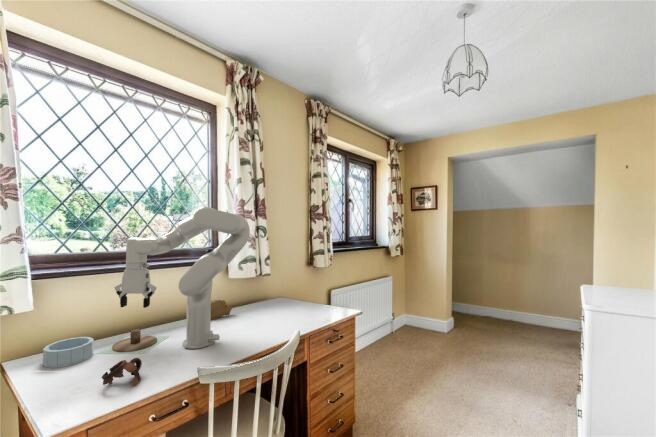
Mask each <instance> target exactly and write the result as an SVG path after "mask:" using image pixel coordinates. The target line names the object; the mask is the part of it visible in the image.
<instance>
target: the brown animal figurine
mask: <svg viewBox="0 0 656 437" xmlns="http://www.w3.org/2000/svg"><path fill="white" fill-rule="evenodd" d="M142 362H143V361H142V360H141V358H139V357H134V358H132V359H131V360H129V362H128V361H127V360H126V359H123V360H121V361H119V362H117V363H115V364H114V365H113V366H112V367H110V368H108V369H109V372H108V371H106V372H105V373H103V374H102V375H101V379H102V380H103V382H102V385H103V386H105V385H107V384H109V385H113V381H114V379H117V378H123V377H124V375H125V374H124V370H125V371H126V372H127V373H130V374H131V376H134V377H133V378H132V380H130V383H131V385H132V387H133V388H135V387H136V386H137V385H138V384H139V383H140V382H141V381H142V377H141V374H140V370H141V367H142ZM134 386H135V387H134Z"/></svg>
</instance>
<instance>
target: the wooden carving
mask: <svg viewBox="0 0 656 437" xmlns="http://www.w3.org/2000/svg"><path fill="white" fill-rule="evenodd" d="M232 310H233V307H231V306H230V305H227V302H226V300H221V299H215V300H211V320H217V319H220V318H222V317H224V316H229V315H230V314H231V312H232Z"/></svg>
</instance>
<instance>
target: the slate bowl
mask: <svg viewBox="0 0 656 437" xmlns="http://www.w3.org/2000/svg"><path fill="white" fill-rule="evenodd" d="M94 340H95V339H94V338H93V337H90V336H78V337H72V338H71V337H70V338H66V339H61V340H57V341H55V342H51V343H50V344H47V345H46V346H45V347H43V349H42V364H43V367H46V368H48V369H49V368H52V369H55V368H62V367H67V366H72V365H76V364H79V363H82V362H84V361H87V360H89V359H90V358H91V357H92V356H93V355H94V343H95V341H94Z"/></svg>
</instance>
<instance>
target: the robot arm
mask: <svg viewBox="0 0 656 437" xmlns="http://www.w3.org/2000/svg"><path fill="white" fill-rule="evenodd" d="M248 222H249V221H248V220H247V219H246V218H245V217H244V216H243V215H240V214H236V213H231V212H226V211H224V210H223V211H222V210H218V209H215V208H213V207H210V206H209V207H208V206H201V207H198V208H197V209H195V210H194V212H193V214H192V215H191V216H189V217H187V218H185V219H182V220H181V221H179V222H178V224H177V227H176V228H175V229H173V230H172V231H170V232H168V233H166V234H164V235H162V236H154V237H138V236H137V237H136V236H135V237H128V238H127V240H126V248H125V249H126V252H125V254H126V255H125V269H124V270H123V274H122V277H121V278H122V279H121V283H120V284H118V285H116V286H114V291H115V292H116V294H117V296H118V298H119V300H120V302H119V304H120V305H119V306H120V308H124V307H127V306H128V296H127V295H128V294H131V295H133V294H136V295H137V294H139V295H140V294H141V295H143V297H144V298H143V300H142V301H143V302H142V303H143V305H142V307H143V308H145V309H147V308H148V307H150V304H151V297H152V296H153V295H154V294H155V292H156V290H157V287H158V286H155V285H154V284H151V275H150V270H149V267H150V263H148V262H147V260H148V256H155V255H156V256H158V255H162V254H165V253H168V252H170V251H172V250H175V249H176V248H178V247H180V246H183V244H185V243H186V242H188V241H190V240H191V239H193V238H195V237H196V236H199V235H201V234H202V233H204V232H206V231H208V230H210V231H211V230H212V231H215V232H219V233H222V234H227V236H226V237H225V238H224V239H223V240H222V241H221V242H220V243H219V245H217V247H215V249H213V250H212V251H210V252H207V253H205V254H204V255H201V256H200V257H199V258H198V259H197V261H195V262H194V263H193V265H192V266H191V267H189V269H188V270H187V271H186V272H185V273H184V274H183V275H182V277H181V278H180V279H179V281H178V289H179V292H180V294H181V295H183V296H185V297H186V298H187V299H186V330H185V331H186V336H185V338H186V339H185V340H183V341H182V344H181V345H182V348H184V349H187V350H188V349H189V350H195V349H203V348H206V347H208V346H211V345H213V343H214V342H215V341H219V340H220V337H221V336H220V334H219V333H215V334H214V333H213V330H211V323H212V322H211V320H212V319H211V301H212V290H213V279H214V278H216V276H217V275H218V274H220V273H222V272H223V271H224V270H226V268H227V267H228V265H230V263H231V262H232V261H233V259H235V257H236V256H237V255H238V254H239V253H240V252H241V251H242V249H244V247H245V246H246V245H247V242H248V241H249V237H250V233H251V232H250V229H251V228H250V225H249V223H248Z"/></svg>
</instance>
